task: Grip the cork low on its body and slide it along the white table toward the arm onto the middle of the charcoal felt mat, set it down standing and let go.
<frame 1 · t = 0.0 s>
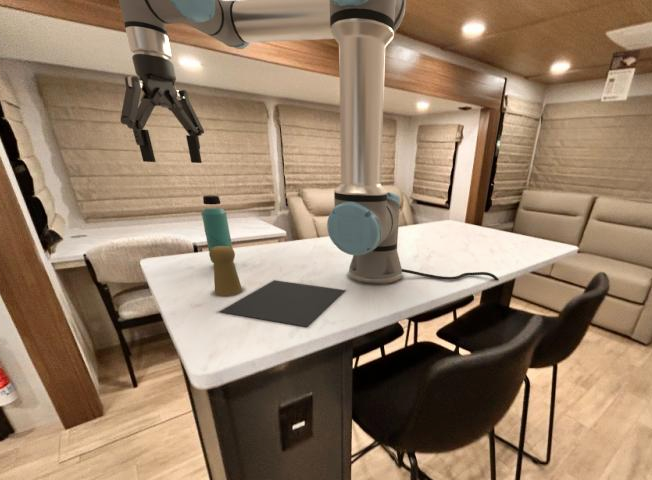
hand: (174, 162, 77), 28 cm above the table, tool pointing down, fingers open, 13 cm apart
cork: (228, 292, 75), on the table
felt mat: (288, 300, 71), on the table
beverage bottle: (223, 266, 92), on the table
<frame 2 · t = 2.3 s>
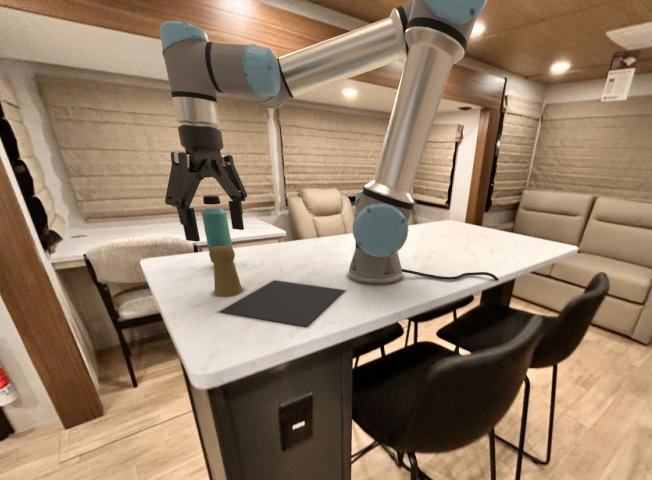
hand: (217, 234, 69), 14 cm above the table, tool pointing down, fingers open, 13 cm apart
nothing on the table moved.
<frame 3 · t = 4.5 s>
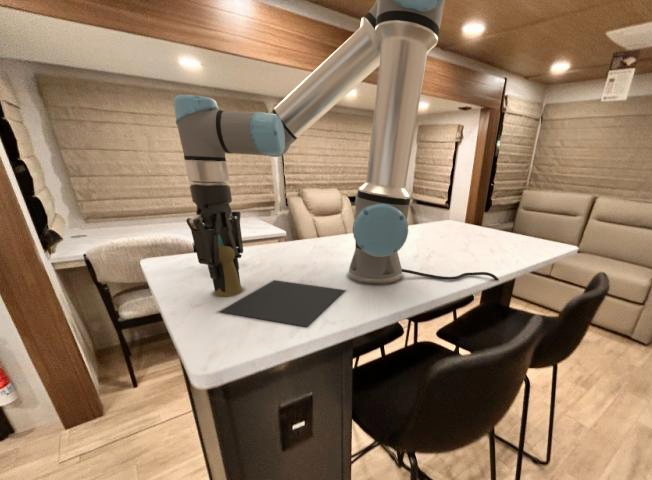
hand: (228, 287, 74), 1 cm above the table, tool pointing down, fingers closed on cork, 4 cm apart
cork: (228, 292, 75), on the table, touching gripper
everything else where it was.
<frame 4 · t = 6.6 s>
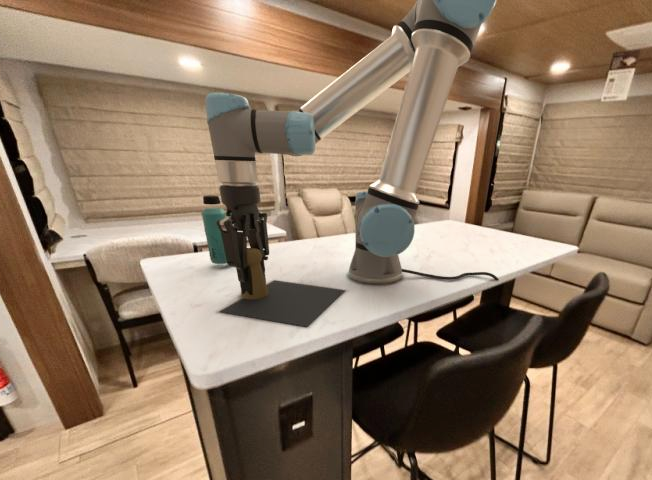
hand: (254, 289, 72), 1 cm above the table, tool pointing down, fingers closed on cork, 4 cm apart
cork: (255, 295, 73), resting on felt mat, touching gripper
everything else where it was.
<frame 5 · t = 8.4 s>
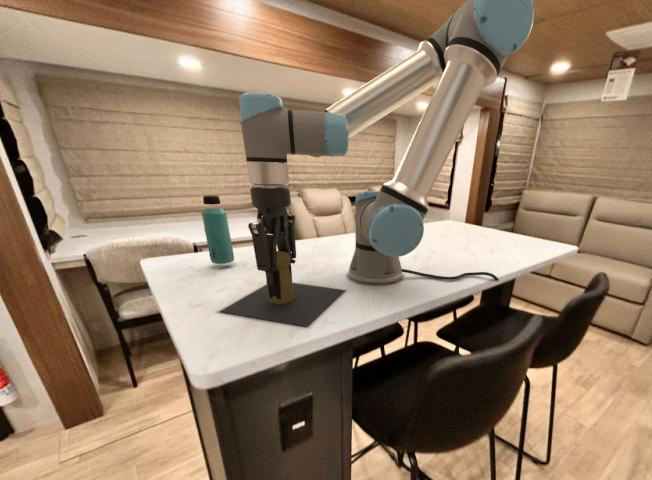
hand: (281, 293, 71), 1 cm above the table, tool pointing down, fingers closed on cork, 4 cm apart
cork: (282, 299, 71), resting on felt mat, touching gripper
everything else where it was.
when the fingers open (1 cm above the table, at t = 9.1 s): cork stays where it is, resting on felt mat.
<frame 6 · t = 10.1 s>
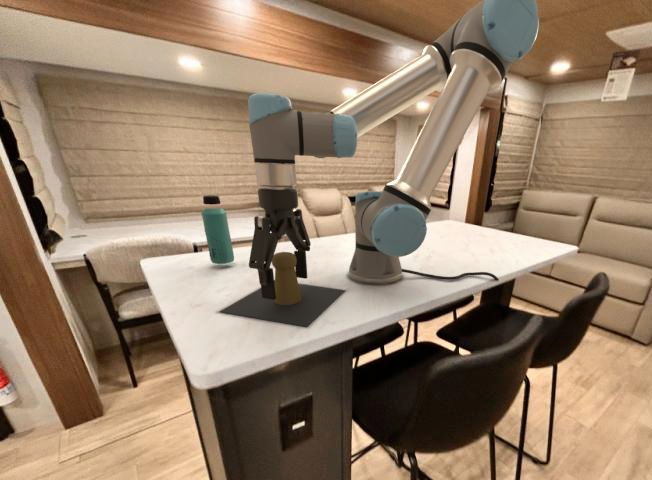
hand: (286, 287, 70), 3 cm above the table, tool pointing down, fingers open, 13 cm apart
cork: (288, 300, 71), resting on felt mat
everything else where it was.
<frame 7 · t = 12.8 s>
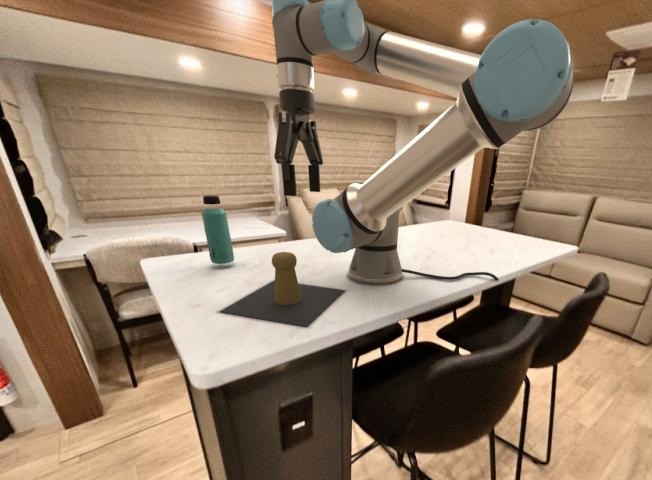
hand: (303, 193, 76), 22 cm above the table, tool pointing down, fingers open, 13 cm apart
nothing on the table moved.
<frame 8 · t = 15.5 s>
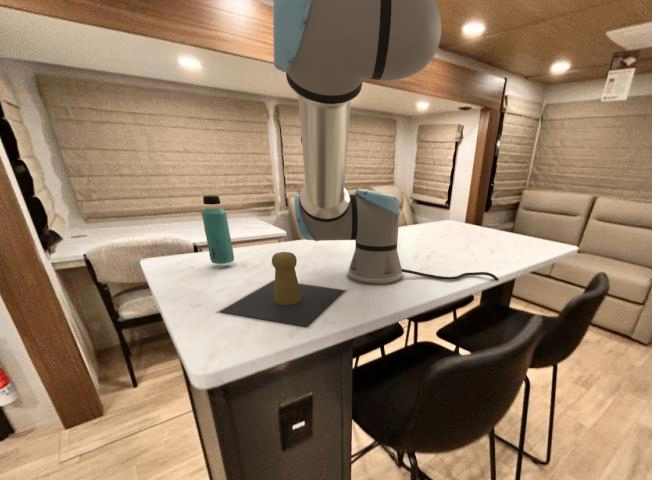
hand: (323, 172, 92), 27 cm above the table, tool pointing down, fingers open, 13 cm apart
nothing on the table moved.
at the end: cork inside the target area on the felt mat (0.0 cm from its centre), point 0.0 cm above the felt mat's base; cork tilted 0°; the gripper is holding nothing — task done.
